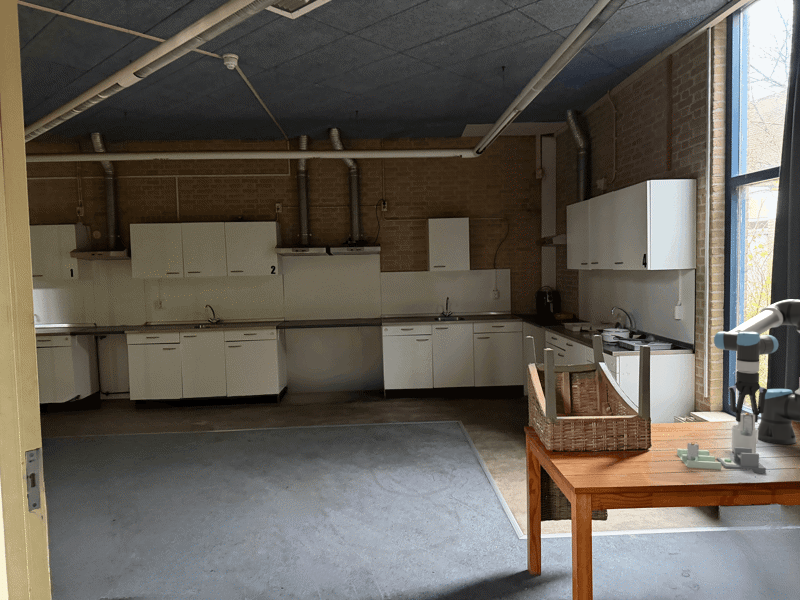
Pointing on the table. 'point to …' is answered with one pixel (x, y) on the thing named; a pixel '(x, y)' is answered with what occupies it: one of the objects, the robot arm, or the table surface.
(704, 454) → the tray
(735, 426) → the mug
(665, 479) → the table surface
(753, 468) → the grey mounting bracket
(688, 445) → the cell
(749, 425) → the cell
